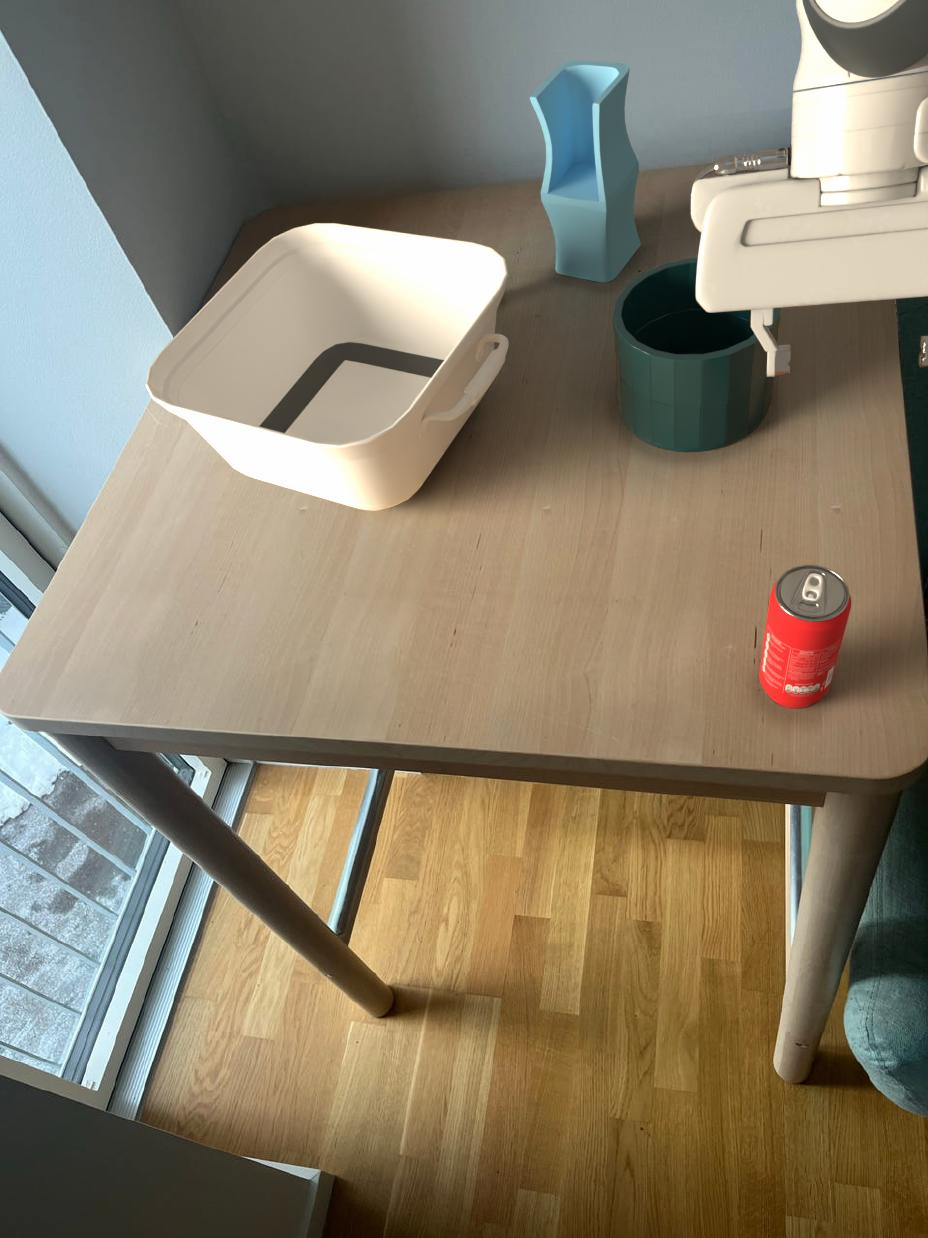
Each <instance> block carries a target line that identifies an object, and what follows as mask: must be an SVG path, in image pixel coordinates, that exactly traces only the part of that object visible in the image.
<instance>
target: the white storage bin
mask: <svg viewBox="0 0 928 1238" xmlns="http://www.w3.org/2000/svg"><path fill="white" fill-rule="evenodd" d="M508 278H509V271H508V266H507V260H506V259H505V258H504V257H503V256H502V255H501V254H499V252H497V251H496V250H495V249H494V248H493V247H490V246H486V245H483V244H480V243H477V242H472V241H467V240H457V239H451V238H443V237H438V236H437V237H436V236H430V235H429V236H428V235H422V234H415V233H406V232H400V231H393V230H385V229H378V228H371V227H364V226H356V225H349V224H342V223H336V222H332V223H331V222H323V223H322V222H319V223H318V222H315V223H311V224H306V225H302V226H297V227H293V228H291V229H289V230H287V231H284V232H283V233H280V234H279V235H276V236H274V237H272V238H271V239H270V240H269V241H267V242H266V243H265V244H263V245H262V246H261V247H260V248H258V249H257V250H256V251H255V253H253V255H252V256H251V257H250V258H249V259H248V260H247V261H246V262H245V263H244V264H243V265H242V266H241V267H240V268H239V269H238V271H237V272H236V273H234V274H233V276H232V277H231V278H230V279H229V280H228V281H227V282H226V283H225V284H224V285H222V287H221V288H220V289H219V291H217V292H216V293H215V294H214V295H213V296H212V298H211V299H210V300H209V301H208V302H207V303H205V305H204V306H203V307H202V308H201V309H200V310H199V311H198V312H197V313H196V314H195V315H194V316H193V317H192V318H191V319H190V320H189V322H188V323H186V324H185V325H184V327H182V329H181V330H179V332H178V333H176V335H175V336H174V337H173V338H172V339H171V340H170V341H169V342H168V343H167V344H166V345H165V346H164V347H163V348H162V349H161V350H160V352H159V353H158V354H157V356H156V357H155V359H154V360H153V361H152V363H151V364H150V366H149V367H148V372H147V377H146V382H145V387H146V389H147V391H148V393H149V395H150V397H151V398H152V400H153V401H154V402H156V403H157V404H158V405H160V406H162V407H163V408H164V409H165V410H167V411H168V412H170V413H172V414H174V415H176V416H178V417H179V418H181V419H183V420H186V422H187V423H189V425H191V427H192V428H193V429H194V430H195V431H196V432H198V433H199V434H200V436H201V437H202V438H203V439H204V440H206V442H207V443H208V444H209V445H210V446H211V447H212V448H213V449H214V450H215V451H216V452H217V453H218V454H219V455H220V456H221V457H222V458H223V459H224V460H225V461H226V462H227V463H228V464H229V465H230V466H231V467H232V468H233V469H234V470H236V471H237V472H239V473H241V474H243V475H244V476H246V477H250V478H252V479H256V480H259V481H262V482H265V483H269V484H273V485H276V486H279V487H283V488H286V489H289V490H293V491H296V492H300V493H303V494H306V495H310V496H313V497H317V498H320V499H324V500H327V501H330V502H333V503H337V504H341V505H343V506H347V507H350V508H354V509H358V510H364V511H374V512H377V511H381V510H386V509H389V508H393V507H395V506H397V505H400V504H402V503H404V502H406V501H408V500H410V499H411V498H412V497H413V496H414V495H415V494H416V493H417V492H418V491H419V490H420V489H421V487H422V486H423V484H424V483H425V481H426V480H427V478H428V477H429V476H430V474H431V473H432V471H433V470H434V469H435V467H436V466H437V464H438V463H439V461H440V460H441V459H442V457H443V455H444V454H445V452H446V451H447V450H448V448H449V447H450V445H451V444H452V442H453V441H454V440H455V438H456V437H457V435H458V434H459V432H460V431H461V429H462V428H463V426H465V424H466V422H467V421H468V419H469V418H470V417H471V415H472V414H473V412H474V410H475V409H476V408H477V406H478V405H479V403H480V402H481V400H482V399H483V398H484V396H485V395H486V392H487V391H488V389H490V386H491V385H492V383H493V382H494V380H496V378H497V376H498V374H499V373H500V371H501V369H502V367H504V364H505V362H506V359H507V358H506V355H507V354H508V349H509V345H510V343H509V339H508V338H507V336H505V335H504V334H501V333H496V324H497V311H498V308H499V306H500V304H501V302H502V299H503V297H504V294H505V291H506V287H507V282H508ZM495 343H498V346H497V347H496V349H495V348H494V347H495Z"/></svg>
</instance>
